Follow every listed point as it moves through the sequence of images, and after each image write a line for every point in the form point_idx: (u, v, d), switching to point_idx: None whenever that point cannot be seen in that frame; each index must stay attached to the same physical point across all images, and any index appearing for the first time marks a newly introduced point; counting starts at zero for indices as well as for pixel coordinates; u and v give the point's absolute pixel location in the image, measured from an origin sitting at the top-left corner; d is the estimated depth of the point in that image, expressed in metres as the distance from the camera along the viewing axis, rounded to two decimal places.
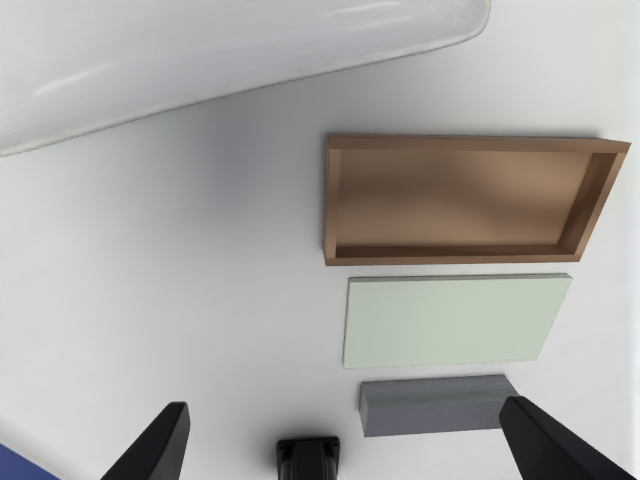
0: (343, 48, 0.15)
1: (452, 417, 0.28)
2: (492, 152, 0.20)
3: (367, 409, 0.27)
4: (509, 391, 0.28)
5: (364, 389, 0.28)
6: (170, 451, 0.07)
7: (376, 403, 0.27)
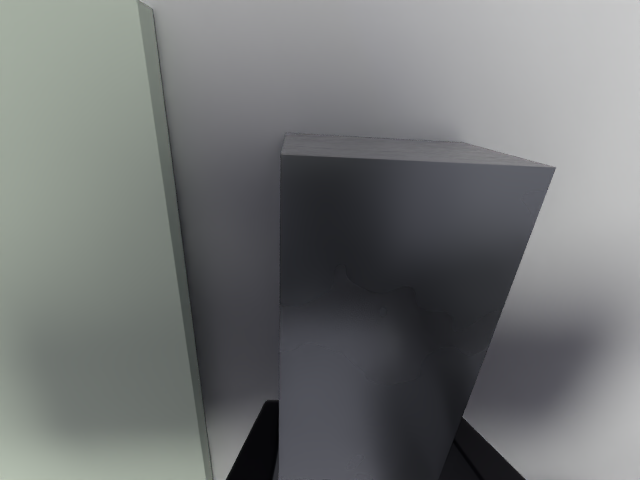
0: None
1: (365, 437, 0.07)
2: None
3: None
4: None
5: None
6: None
7: None
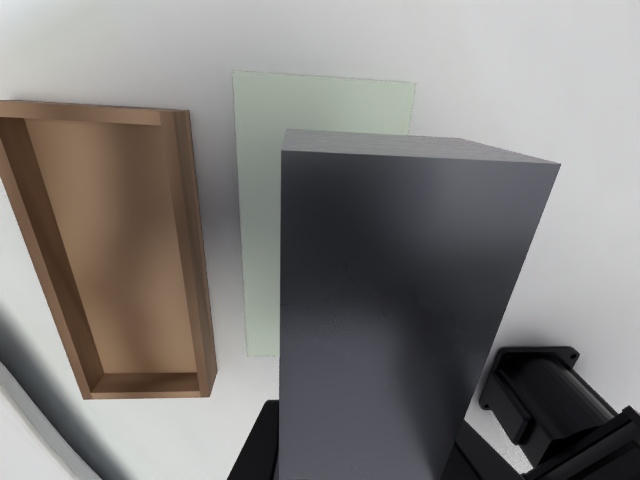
0: None
1: (366, 438, 0.07)
2: (70, 245, 0.18)
3: None
4: None
5: None
6: None
7: None
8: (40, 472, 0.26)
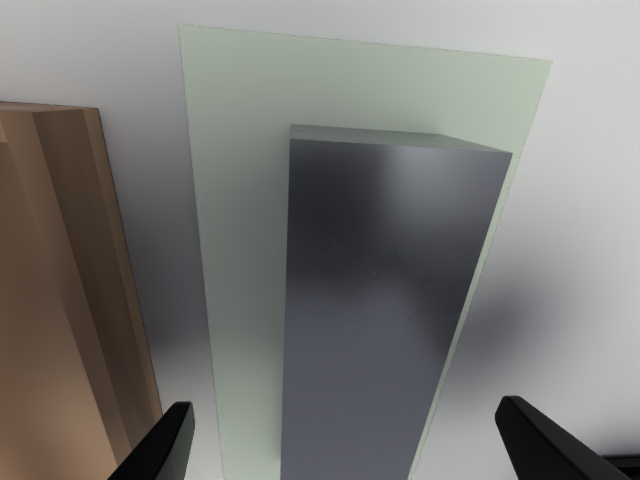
0: None
1: (358, 391, 0.08)
2: None
3: None
4: None
5: None
6: (176, 451, 0.07)
7: None
8: None
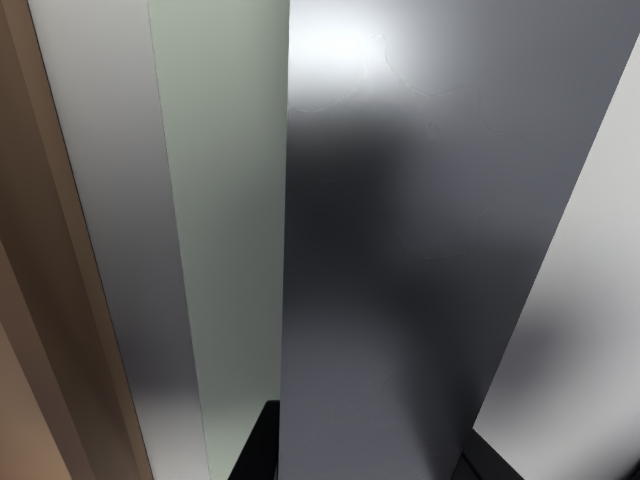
0: None
1: (394, 344, 0.05)
2: None
3: None
4: None
5: None
6: None
7: None
8: None
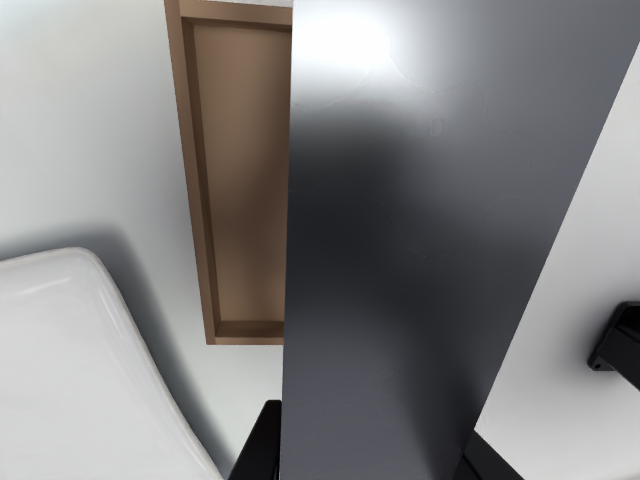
0: None
1: (396, 342, 0.05)
2: (213, 175, 0.17)
3: None
4: None
5: None
6: None
7: None
8: (137, 430, 0.25)
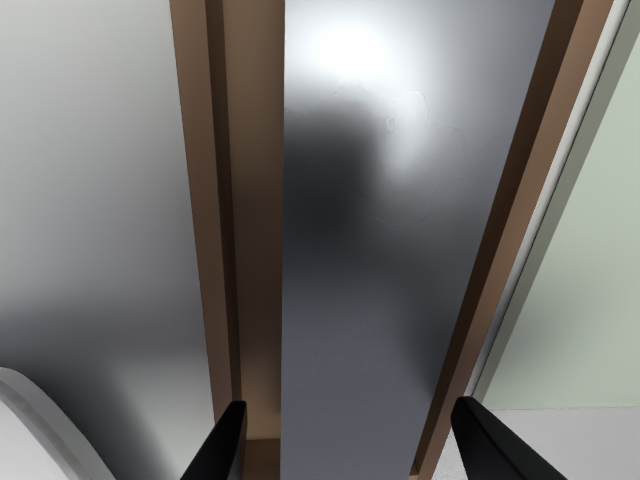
0: None
1: (372, 296, 0.07)
2: (244, 215, 0.09)
3: None
4: None
5: None
6: (239, 449, 0.07)
7: None
8: None
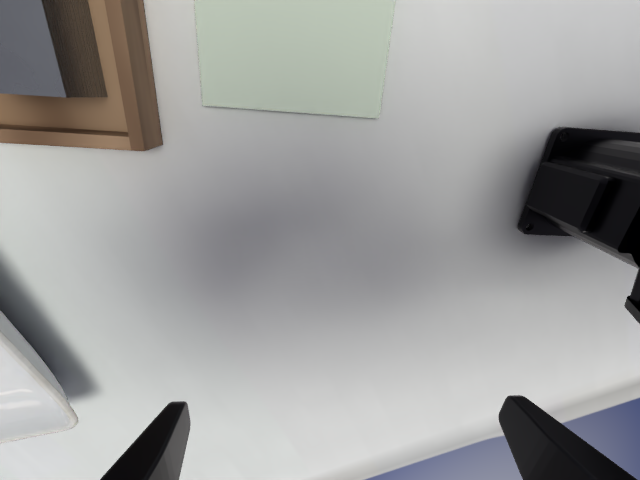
0: None
1: None
2: None
3: None
4: None
5: None
6: (170, 451, 0.07)
7: None
8: None
